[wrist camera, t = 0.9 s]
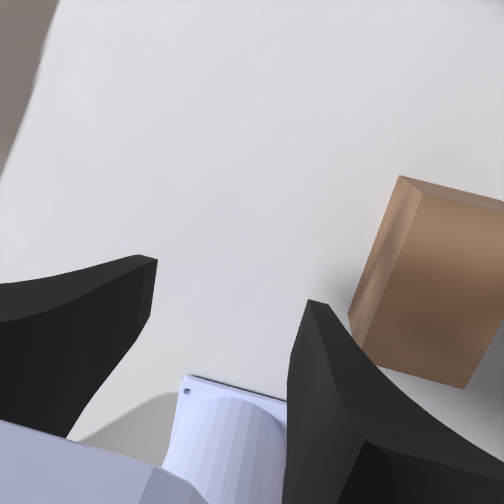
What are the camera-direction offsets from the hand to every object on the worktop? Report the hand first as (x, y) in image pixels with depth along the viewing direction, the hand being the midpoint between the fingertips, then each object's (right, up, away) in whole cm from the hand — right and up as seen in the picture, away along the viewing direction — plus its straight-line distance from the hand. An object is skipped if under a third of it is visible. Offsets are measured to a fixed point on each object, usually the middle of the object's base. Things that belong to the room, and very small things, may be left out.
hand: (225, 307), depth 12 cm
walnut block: (+9, +1, +9) cm, 13 cm away
